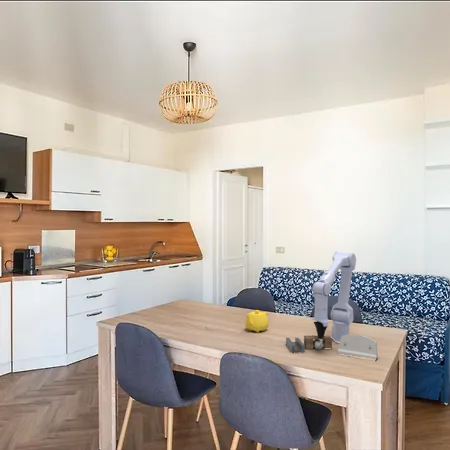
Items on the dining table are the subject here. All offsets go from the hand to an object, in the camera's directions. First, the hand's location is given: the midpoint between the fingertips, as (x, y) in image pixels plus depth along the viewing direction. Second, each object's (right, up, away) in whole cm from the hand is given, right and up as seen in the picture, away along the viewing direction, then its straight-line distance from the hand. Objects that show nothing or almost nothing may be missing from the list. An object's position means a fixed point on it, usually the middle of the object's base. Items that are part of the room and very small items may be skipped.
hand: (320, 338), depth 175 cm
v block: (-11, -6, +2) cm, 13 cm away
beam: (0, -6, +4) cm, 7 cm away
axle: (0, -6, +6) cm, 9 cm away
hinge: (+15, -6, -6) cm, 17 cm away
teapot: (-27, -5, +31) cm, 42 cm away
